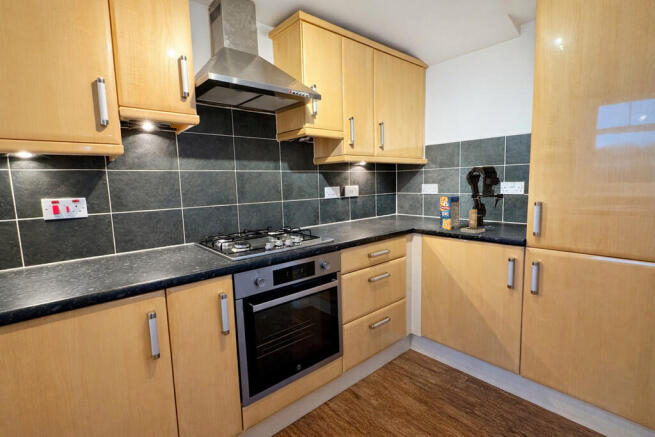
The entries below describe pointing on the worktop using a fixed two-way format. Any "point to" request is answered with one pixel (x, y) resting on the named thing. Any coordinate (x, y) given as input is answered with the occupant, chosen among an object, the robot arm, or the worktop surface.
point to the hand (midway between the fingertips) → (486, 209)
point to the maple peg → (472, 219)
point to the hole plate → (472, 230)
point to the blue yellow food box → (449, 212)
